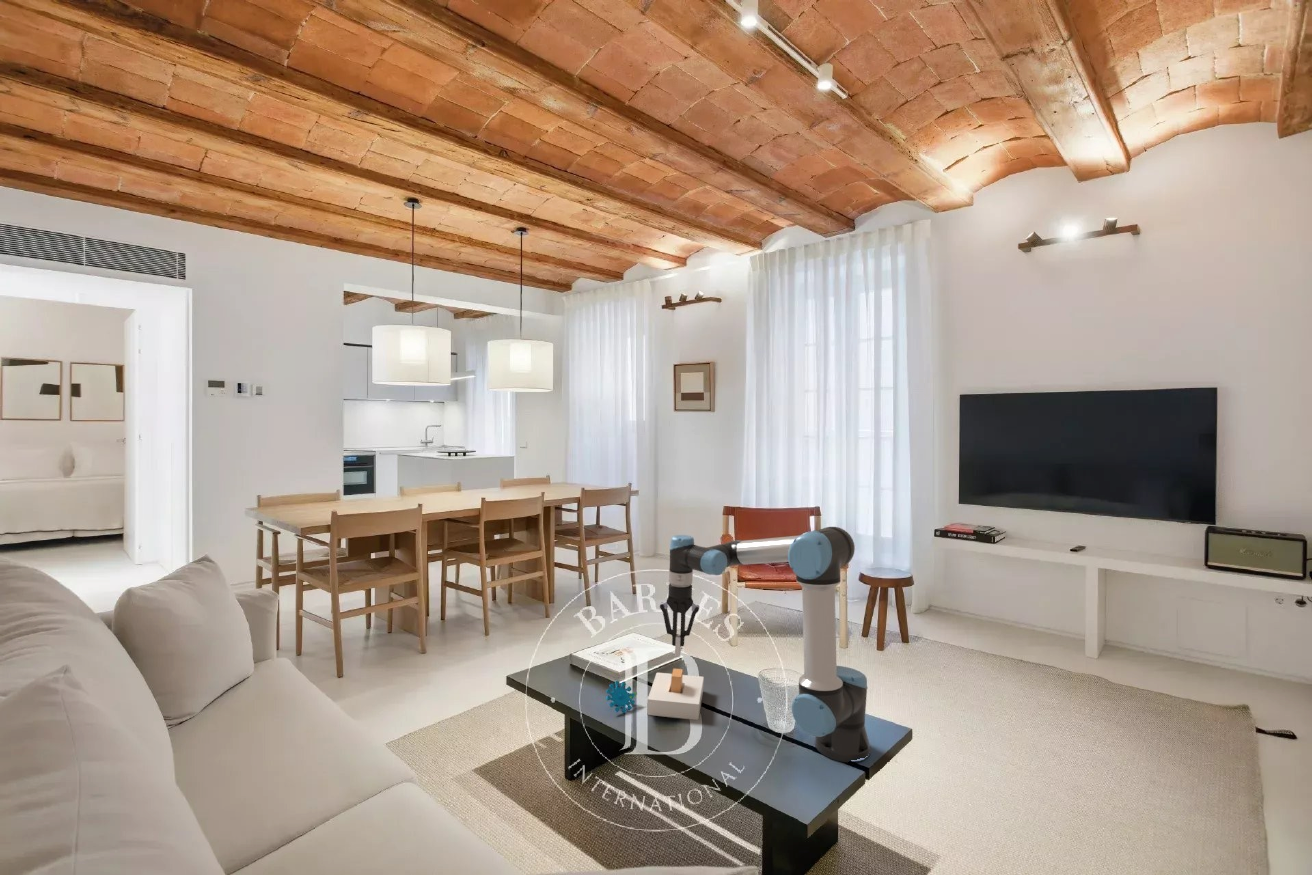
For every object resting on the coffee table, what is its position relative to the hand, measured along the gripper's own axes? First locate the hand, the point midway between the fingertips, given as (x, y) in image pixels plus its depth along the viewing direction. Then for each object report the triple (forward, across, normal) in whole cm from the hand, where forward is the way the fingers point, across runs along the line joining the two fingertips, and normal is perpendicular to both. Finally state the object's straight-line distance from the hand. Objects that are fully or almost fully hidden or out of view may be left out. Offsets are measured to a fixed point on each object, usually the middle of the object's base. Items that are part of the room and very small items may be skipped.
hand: (677, 655), depth 215 cm
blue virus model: (+16, -17, -7) cm, 24 cm away
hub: (+16, 0, 0) cm, 16 cm away
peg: (+16, 0, 0) cm, 16 cm away
